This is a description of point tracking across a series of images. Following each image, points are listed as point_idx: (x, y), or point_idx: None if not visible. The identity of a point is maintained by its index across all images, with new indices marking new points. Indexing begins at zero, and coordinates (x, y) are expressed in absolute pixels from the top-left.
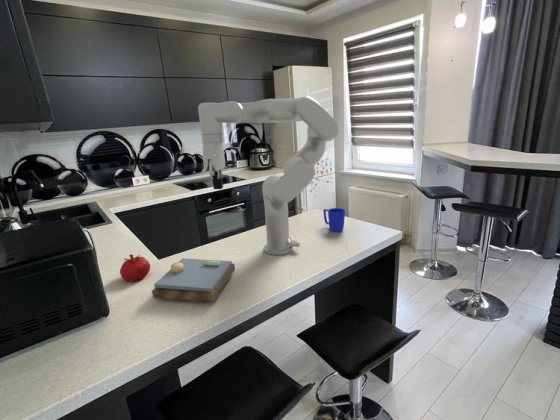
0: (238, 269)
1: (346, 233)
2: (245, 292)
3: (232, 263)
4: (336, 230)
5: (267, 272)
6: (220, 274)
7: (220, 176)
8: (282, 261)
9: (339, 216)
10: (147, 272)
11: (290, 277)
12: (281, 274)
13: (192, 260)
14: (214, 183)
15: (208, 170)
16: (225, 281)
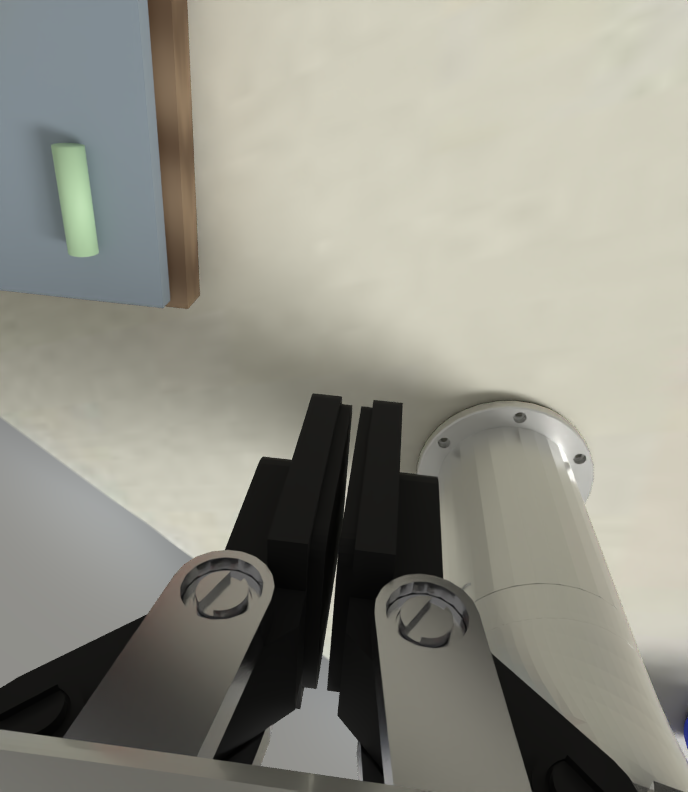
0: (249, 295)
1: None
2: (52, 365)
3: (187, 297)
4: (685, 723)
5: (233, 435)
6: (5, 281)
7: (357, 735)
8: None
9: None
10: None
11: (202, 520)
12: (222, 489)
13: (114, 20)
14: (243, 504)
15: (93, 749)
16: None
